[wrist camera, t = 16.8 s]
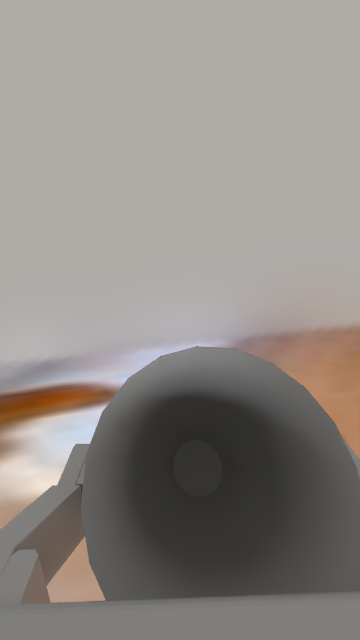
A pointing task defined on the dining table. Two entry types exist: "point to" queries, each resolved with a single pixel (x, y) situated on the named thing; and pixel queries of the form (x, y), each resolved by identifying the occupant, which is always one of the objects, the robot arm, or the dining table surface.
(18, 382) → the dining table surface
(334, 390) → the dining table surface
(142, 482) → the chalice
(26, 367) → the dining table surface
